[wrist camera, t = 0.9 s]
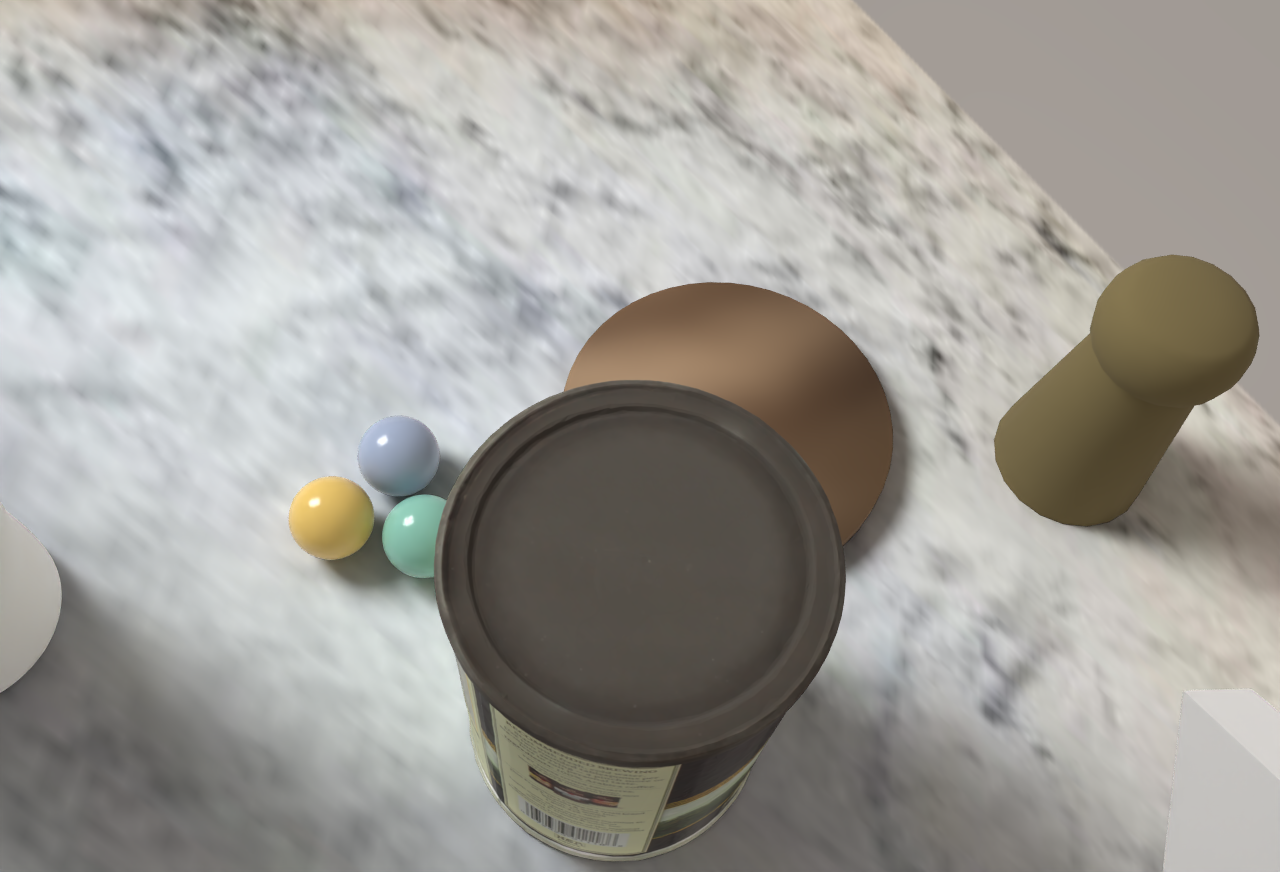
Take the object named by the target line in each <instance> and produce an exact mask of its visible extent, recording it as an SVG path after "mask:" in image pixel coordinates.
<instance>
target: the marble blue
mask: <svg viewBox="0 0 1280 872" xmlns="http://www.w3.org/2000/svg"><path fill="white" fill-rule="evenodd" d="M357 457H358V465H359V469H360V471H361V473H362V475H363V477H364V479H365V480H366V481H367V482H368V484H369V485H370V486H371V487H373V488H374V489H375V490H377V491H379V492H381V493H383V494H386V495H390V496H407V495H411V494H414V493H416V492H418V491H420V490H422V489H423V488H424V487H426V486H427V485H428V484H429V483H430V482H431V480H432V479H433V477H434V476H435V474H436V472H437V469H438V466H439V461H440V451H439V446H438V442H437V440H436V438H435V436H434V434H433V433H432V432H431V430H430V429H429V428H428V427H427V426H426V425H424V424H423V423H422V422H420V421H418V420H416V419H414V418H411V417H407V416H390V417H386V418H383V419H381V420H379V421H377V422H376V423H374V424H373V425H372V426H371V427H370V428H369V429H368V430H367V431H366V432H365V434H364V435H363V437H362V439H361V441H360V444H359V447H358V455H357Z"/></svg>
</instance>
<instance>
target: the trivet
mask: <svg viewBox="0 0 1280 872" xmlns="http://www.w3.org/2000/svg"><path fill="white" fill-rule="evenodd" d="M616 380H653V381H662V382H670V383H675V384H680V385H684V386H689V387H693V388H697V389H700V390H702V391H705V392H708V393H711V394H714V395H716V396H719V397H721V398H723V399H725V400H728V401H730V402H732V403H734V404H736V405H738V406H740V407H742V408H743V409H745V410H747V411H749V412H750V413H752V414H754V415H755V416H757V417H759V418H760V419H761V420H763V421H764V422H765V423H766V424H768V425H769V426H770V427H771V428H773V429H774V430H775V431H776V432H777V433H778V434H779V435H780V436H782V437H783V438H784V439H785V440H786V441H787V442H788V443H789V444H790V445H791V446H792V447H793V448H794V449H795V450H796V451H797V452H798V453H799V455H800V456H801V457H802V458H803V459H804V461H805V462H806V463H807V465H808V466H809V467H810V469H811V470H812V472H813V473H814V475H815V477H816V478H817V480H818V481H819V483H820V484H821V486H822V488H823V490H824V492H825V494H826V495H827V497H828V499H829V502H830V505H831V508H832V510H833V513H834V516H835V518H836V520H837V524H838V528H839V532H840V536H841V541H842V546H844V545H845V544H846V543H847V542H848V541H849V540H850V539H851V538H852V536H853V535H854V534H855V533H856V532H857V531H858V530H859V528H860V527H861V526H862V524H863V523H864V521H865V520H866V519H867V517H868V516H869V514H870V512H871V511H872V509H873V507H874V505H875V503H876V501H877V499H878V497H879V495H880V493H881V491H882V489H883V487H884V485H885V481H886V478H887V475H888V472H889V469H890V463H891V457H892V451H893V429H892V422H891V414H890V410H889V406H888V403H887V399H886V396H885V393H884V390H883V388H882V386H881V384H880V381H879V379H878V377H877V375H876V373H875V371H874V370H873V368H872V367H871V365H870V363H869V362H868V360H867V358H866V357H865V356H864V355H863V353H862V352H861V351H860V350H859V348H858V347H857V346H856V344H855V343H854V342H853V341H852V340H851V339H850V338H849V337H848V336H847V335H846V334H845V333H844V332H843V331H842V330H841V329H839V328H838V327H837V326H836V325H834V324H833V323H832V322H831V321H829V320H828V319H827V318H826V317H824V316H823V315H821V314H819V313H818V312H816V311H815V310H813V309H811V308H810V307H808V306H806V305H804V304H802V303H800V302H798V301H796V300H794V299H792V298H790V297H787V296H784V295H781V294H779V293H776V292H773V291H770V290H766V289H762V288H758V287H754V286H750V285H742V284H734V283H713V282H708V283H696V284H687V285H682V286H677V287H672V288H668V289H665V290H662V291H659V292H656V293H653V294H650V295H648V296H646V297H643V298H641V299H639V300H637V301H635V302H633V303H631V304H630V305H628V306H626V307H625V308H623V309H622V310H620V311H618V312H617V313H616V314H614V315H613V316H612V317H611V318H609V319H608V320H607V321H606V322H605V323H603V324H602V325H601V326H600V327H599V328H598V329H597V331H596V332H595V333H594V334H593V335H592V336H591V337H590V338H589V339H588V341H587V342H586V344H585V345H584V347H583V348H582V350H581V351H580V352H579V354H578V356H577V358H576V360H575V362H574V364H573V366H572V368H571V370H570V373H569V376H568V379H567V382H566V385H565V388H564V392H565V391H567V390H570V389H573V388H577V387H581V386H585V385H590V384H595V383H601V382H607V381H616Z"/></svg>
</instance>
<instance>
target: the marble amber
mask: <svg viewBox="0 0 1280 872" xmlns="http://www.w3.org/2000/svg"><path fill="white" fill-rule="evenodd" d="M374 519H375V517H374V509H373V505H372V502H371V500H370V498H369V496H368V495H367V493H366V492H365V491H364V490H363V489H362V488H361V487H360V486H359V485H358V484H356V483H355V482H353V481H351V480H349V479H346V478H342V477H336V476H328V477H322V478H318V479H316V480H313V481H311V482H310V483H308V484H307V485H305V486H304V487H303V488H302V489H301V490H300V491H299V492H298V493H297V494H296V496H295V497H294V499H293V501H292V504H291V506H290V510H289V528H290V531H291V534H292V536H293V538H294V540H295V541H296V543H297V544H298V545H299V546H300V547H301V548H302V549H303V550H304V551H305V552H307V553H308V554H310V555H312V556H314V557H317V558H321V559H326V560H336V559H341V558H345V557H348V556H350V555H352V554H354V553H355V552H357V551H358V550H359V549H360V548H361V547H362V546H363V545H364V544H365V543H366V542H367V540H368V539H369V537H370V535H371V533H372V530H373V526H374Z"/></svg>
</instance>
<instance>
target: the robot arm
mask: <svg viewBox="0 0 1280 872" xmlns="http://www.w3.org/2000/svg"><path fill="white" fill-rule="evenodd" d="M1163 872H1280V712H1279V711H1278V710H1277V709H1275V708H1274V707H1273V706H1272V705H1271V704H1269V703H1268V702H1267V701H1266V700H1265V699H1263V698H1262V697H1261V696H1260V695H1259V694H1257V693H1256V692H1255V691H1254V690H1253V689H1251V688H1249V689H1209V690H1183V695H1182V704H1181V712H1180V721H1179V730H1178V739H1177V748H1176V757H1175V766H1174V775H1173V784H1172V793H1171V802H1170V811H1169V819H1168V828H1167V837H1166V846H1165V855H1164V864H1163Z"/></svg>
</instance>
